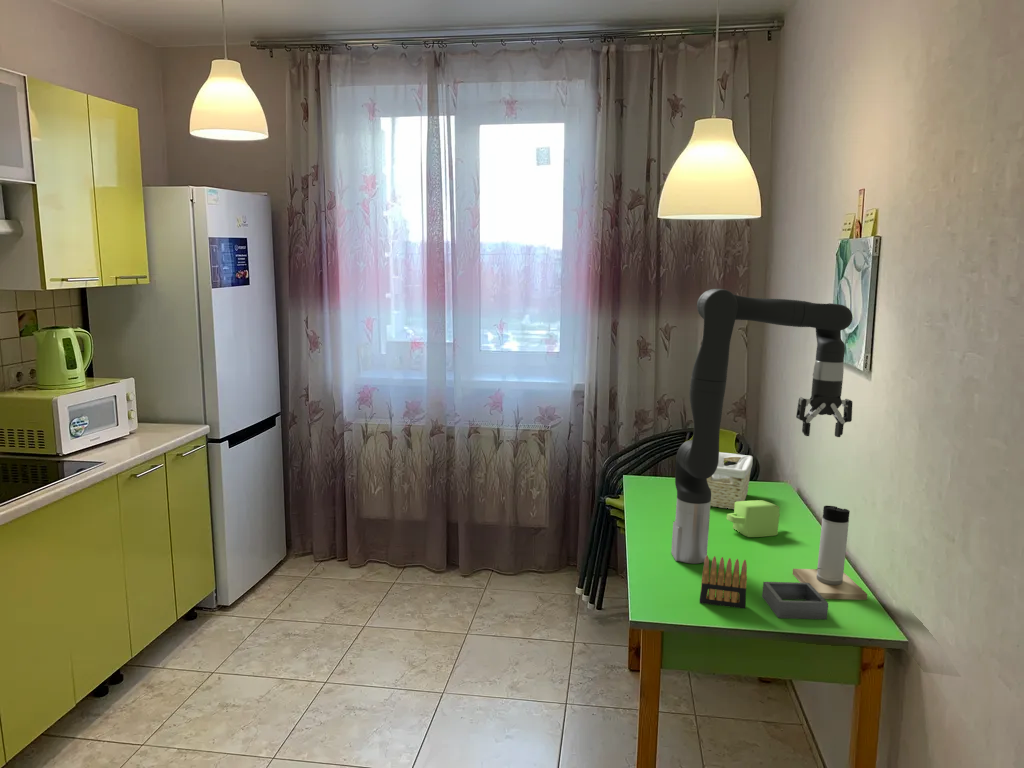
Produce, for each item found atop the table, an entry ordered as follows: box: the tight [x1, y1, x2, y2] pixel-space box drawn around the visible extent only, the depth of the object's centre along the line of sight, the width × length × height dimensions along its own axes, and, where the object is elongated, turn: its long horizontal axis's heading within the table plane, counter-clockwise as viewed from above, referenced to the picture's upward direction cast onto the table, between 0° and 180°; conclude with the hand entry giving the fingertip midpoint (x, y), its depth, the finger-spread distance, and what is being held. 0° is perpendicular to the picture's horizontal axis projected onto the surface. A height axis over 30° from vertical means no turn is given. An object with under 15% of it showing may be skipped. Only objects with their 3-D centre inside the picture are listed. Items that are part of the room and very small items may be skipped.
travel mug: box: [816, 505, 850, 585], centre depth 192 cm, size 6×7×20 cm
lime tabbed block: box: [726, 499, 781, 538], centre depth 233 cm, size 18×10×10 cm, turn 107°
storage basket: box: [707, 451, 754, 510], centre depth 264 cm, size 24×16×15 cm
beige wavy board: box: [792, 568, 868, 601], centre depth 194 cm, size 13×15×2 cm
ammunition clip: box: [699, 555, 748, 609], centre depth 181 cm, size 11×2×12 cm, turn 77°
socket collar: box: [761, 581, 829, 620], centre depth 181 cm, size 11×11×4 cm
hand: (822, 436), depth 205 cm, fingers open, 8 cm apart
